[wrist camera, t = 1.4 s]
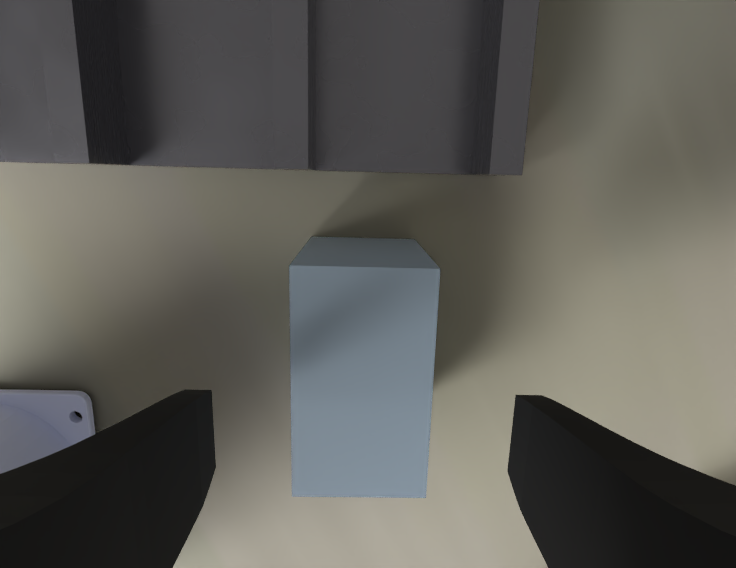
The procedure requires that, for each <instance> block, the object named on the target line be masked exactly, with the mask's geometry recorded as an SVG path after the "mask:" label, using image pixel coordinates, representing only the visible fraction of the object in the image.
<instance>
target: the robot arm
mask: <svg viewBox="0 0 736 568" xmlns="http://www.w3.org/2000/svg"><path fill="white" fill-rule="evenodd" d="M75 411H77V412H79V413H80V414H81V415H82V418H79V417H78V416H77V415H76V414H75ZM215 468H216V463H215V445H214V427H213V409H212V391H211V390H183V391H181V392H178V393H176V394H173V395H171V396H169V397H167V398H165V399H163V400H161V401H159V402H157V403H155V404H154V405H152V406H150V407H148V408H146V409H144V410H142V411H140V412H138V413H136V414H134V415H133V416H131V417H129V418H127V419H125V420H123V421H121V422H119V423H117V424H115V425H113V426H111V427H109V428H107V429H105V430H103V431H101V432H99V433H97V434H95V426H94V417H93V409H92V401H91V399H90V397H89V396H88V394H86V393H84V392H83V391H72V390H7V389H0V568H173V566H174V564H175V562H176V560H177V558H178V556H179V554H180V552H181V550H182V548H183V546H184V544H185V542H186V540H187V538H188V536H189V534H190V532H191V529H192V527H193V525H194V523H195V521H196V519H197V517H198V515H199V513H200V511H201V509H202V507H203V504H204V501H205V498H206V495H207V493H208V490H209V487H210V484H211V481H212V478H213V474H214V471H215ZM508 474H509V477H510V480H511V483H512V487H513V490H514V493H515V496H516V499H517V501H518V504H519V507H520V510H521V512H522V514H523V516H524V519H525V521H526V523H527V525H528V527H529V529H530V531H531V533H532V535H533V537H534V539H535V541H536V543H537V545H538V547H539V549H540V551H541V553H542V555H543V557H544V559H545V562H546V564H547V566H548V568H736V486H735V485H732V484H729V483H727V482H724V481H721V480H718V479H716V478H713V477H711V476H709V475H706V474H704V473H701V472H699V471H696V470H694V469H691V468H689V467H686V466H684V465H681V464H679V463H677V462H675V461H672V460H670V459H668V458H665V457H663V456H661V455H659V454H657V453H655V452H653V451H651V450H649V449H647V448H644V447H642V446H640V445H638V444H636V443H634V442H632V441H630V440H628V439H626V438H624V437H622V436H620V435H618V434H616V433H614V432H613V431H611V430H609V429H607V428H605V427H603V426H601V425H599V424H598V423H596V422H594V421H592V420H590V419H588V418H586V417H585V416H583V415H581V414H579V413H577V412H575V411H573V410H572V409H570V408H568V407H566V406H564V405H562V404H560V403H558V402H556V401H554V400H552V399H549V398H547V397H544V396H541V395H516V398H515V407H514V417H513V426H512V435H511V444H510V453H509V463H508Z"/></svg>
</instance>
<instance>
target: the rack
mask: <svg viewBox="0 0 736 568" xmlns="http://www.w3.org/2000/svg"><path fill="white" fill-rule="evenodd" d="M538 10H539V0H0V162H28V163H65V164H101V165H138V166H174V167H211V168H248V169H284V170H321V171H357V172H394V173H431V174H467V175H522V170H523V160H524V150H525V140H526V130H527V120H528V110H529V100H530V90H531V80H532V70H533V60H534V50H535V40H536V30H537V20H538Z"/></svg>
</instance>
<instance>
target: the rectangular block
mask: <svg viewBox="0 0 736 568" xmlns="http://www.w3.org/2000/svg"><path fill="white" fill-rule="evenodd" d="M289 283H290V369H291V455H292V496H298V497H391V498H426V488H427V472H428V456H429V441H430V425H431V409H432V394H433V378H434V362H435V347H436V331H437V315H438V299H439V284H440V268H439V267H438V265H437V264H436V263H435V262H434V261H433V260H432V259H431V257H430V256H429V255H428V254H427V253H426V252H425V251H424V249H423V248H422V247H421V246H420V245H419V244H418V243H417V241H416V240H415V239H391V238H350V237H311V238H310V239H309V241H308V242H307V243H306V244H305V246H304V247H303V248H302V250H301V251H300V252H299V254H298V255H297V256H296V257H295V259H294V260H293V261H292V263H291V264H290V265H289Z"/></svg>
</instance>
